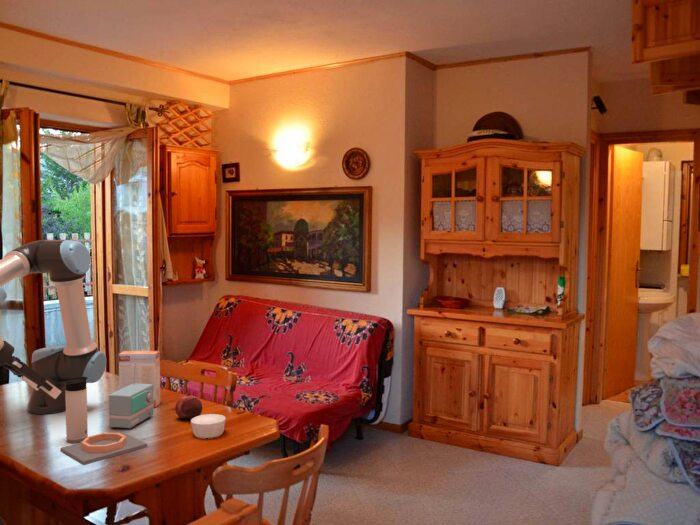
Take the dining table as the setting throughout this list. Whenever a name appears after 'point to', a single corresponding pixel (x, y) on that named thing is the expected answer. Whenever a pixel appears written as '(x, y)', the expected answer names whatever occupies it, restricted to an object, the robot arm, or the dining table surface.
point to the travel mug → (76, 410)
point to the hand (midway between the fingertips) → (48, 391)
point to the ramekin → (208, 425)
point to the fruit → (188, 407)
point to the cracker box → (140, 370)
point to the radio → (131, 405)
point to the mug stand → (102, 447)
